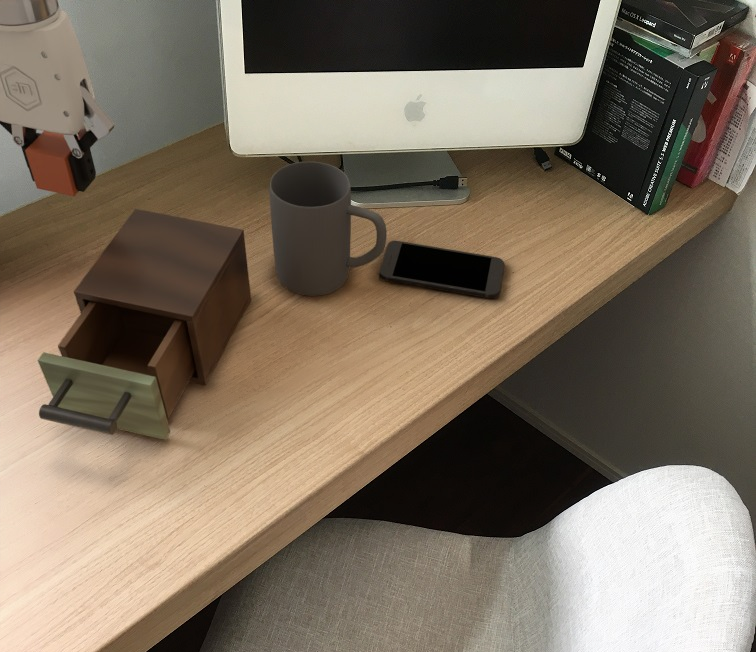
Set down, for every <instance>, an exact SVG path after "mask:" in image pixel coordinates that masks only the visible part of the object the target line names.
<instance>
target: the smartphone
mask: <svg viewBox="0 0 756 652" xmlns="http://www.w3.org/2000/svg"><path fill="white" fill-rule="evenodd" d="M505 267H506V264H505V261H504V260H503V259H502V258H500V257H498V256H492V255H485V254H480V253H476V252H475V253H474V252H469V251H468V252H467V251H461V250H455V249H449V248H444V247H438V246H432V245H425V244H419V243H414V242H407V241H403V240H402V241H401V240H391V241H389V242H388V243H387V245H386V247H385V251H384V254H383V257H382V260H381V264H380V267H379V270H378V276H379V277H378V278H380V279H381V280H382V281H386V282H390V283H391V282H392V283H397V284H405V285H408V286H409V285H410V286H416V287H422V288H426V289H434V290H439V291H445V292H451V293H458V294H462V295H468V296H475V297H480V298H481V297H482V298H486V299H487V298H488V299H495V298H497V297H499V295H500V294H501V291H502V285H503V279H504V273H505V269H506V268H505Z"/></svg>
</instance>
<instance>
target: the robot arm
mask: <svg viewBox="0 0 756 652" xmlns="http://www.w3.org/2000/svg"><path fill="white" fill-rule="evenodd" d="M93 87H94V86H93V84H92V80H91V76H90V72H89V70H88V66H87V63H86V60H85V57H84V53H83V50H82V48H81V45H80V42H79V40H78V37H77V34H76V32H75V29H74V27H73V24H72V23H71V20H70V18H69V15H68V13H67V12H66V11H65V10H62V9H61V8H60V4H59V0H0V126H1V127H3V128H4V129H5V130H6V131H7V132H8V133H9V134H10V135H11V136H12V141H13V142H14V144H15V145H16V146H18V147H21V150H22V155H23V157H24V160H25V163H26V166H27V168H28V170H29V174H30V177H31V180H32V182H34V183H35V181H34V177H33V174H32V171H31V168H30V165H29V161H28V158H27V155H26V152H25V150H26V149H27V148H28V147H29V146H30V145H31V144H32V143H33V142H34V141H35V140H36V139H37V138H38V137H39V135H40V134H41V133H42V132H43V131H47V132H52V133H57V134H63V136H64V138H65V140H66V142H67V144H68V146H69V148H70V151H71V153H72V154H71V156H70V157H69V163H70V167H71V170H72V174H73V178H74V181H75V185H76V189H77V190H78V191H79V192H80V193H84V192H85V191H87V189H88V188H89V187H90V185H91V184H92V183H93V182H94V181H95V179H96V176H97V171H96V167H95V166H96V165H95V163H94V159H93V155H92V151H91V148H92V147H93V146H94V144H95V143H97V142H98V141H101V140H102V139H103V138H105V137H106V136H108V135H109V134H110V133H111V132H112V131H113V129H114V128H115V124H114V122H113V120H112V119H111V118H110V117H109V115H108V114H107V113H106V112H105V111H104V109H103V108H102V106H101V105H100V104H99V103H98V102H97V101H96V96H95V93H94V88H93ZM85 117H86V118H87V119H88V120H89V122H90V123H91V124H92V125H91V126H90V127H88V124H87V122H86V120H85ZM37 131H42V132H41V133H40V132H37ZM77 136H79V138H80V140H79V139H78V137H77Z"/></svg>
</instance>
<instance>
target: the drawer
mask: <svg viewBox="0 0 756 652" xmlns="http://www.w3.org/2000/svg"><path fill="white" fill-rule="evenodd" d="M57 347H58V350H59V353H60V355H59V354H54V353H50V352H46V351H45V352H44V351H43V352H42V354H41V355H40V356H39V358H37V363H38V365H39V368H40V370H41V372H42V374H43V377H44V379H45V381H46V384H47V387H48V389H49V391H50V394H51V396H52V398H51V399H50V401H49V402H48V404H46V403H44V404H42V405H41V406H40V407H39V410H38V416H39V418H40V419H41V420H44V421H47V422H48V421H49V422H53V423H58V424H61V425H66V426H70V427H75V428H79V429H84V430H88V431H92V432H97V433H101V434H105V435H109V436H113V435H114V434H115V433H116V432H117V430H120V431H125V432H130V433H134V434H138V435H143V436H148V437H151V438H155V439H159V440H165V441H166V440H167V438H168V436H169V435H170V432H171V429H170V424H169V422H168V419H169V418H170V417H171V415H172V413H173V411H174V410H175V408H176V406H177V404H178V402H179V401H180V398H181V397H182V395H183V393H184V392H185V390H186V388H187V386H188V384H189V381H190V379H191V377H192V375H193V373H194V371H195V370H196V365H195V361H194V356H193V351H192V346H191V341H190V336H189V331H188V326H187V321H185V320H180V319H176V318H171V317H166V316H161V315H157V314H152V313H147V312H142V311H138V310H133V309H128V308H123V307H119V306H114V305H109V304H105V303H100V302H95V301H90V302H89V303H88V304H87V306H86V307H85V308H84V310H83V311H82V313H81V312H80V314H79V315H78V317H77V318H76V319H75V320H74V322H73V324H72V326H71V327H70V328H69V329H68V330H67V332H66V333H65V334H64V336H63V337H62V339H61V341H60V342H59V343H58V345H57Z"/></svg>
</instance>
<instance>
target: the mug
mask: <svg viewBox="0 0 756 652" xmlns="http://www.w3.org/2000/svg"><path fill="white" fill-rule="evenodd" d="M269 207H270V223H271V224H270V225H271V236H272V249H273V259H274V268H275V274H276V277H277V279H278V281H279V282H280V284H281V285H282V286H283V287H284V288H285V289H287V290H289V291H290V292H292V293H295V294H298V295H303V296H307V297H308V296H309V297H310V296H311V297H317V296H323V295H328V294H331V293H333V292H336V291H338V289H340V288H341V287H342V286H344V285H345V284H346V282H347V279H348V277H349V273H350V268H359V267H364V266H366V265H368V264H370V263H371V262H374V261H375V260H377V259H378V258H379V257H380V256H382V255H383V252H385V251H384V250H385V249H386V246H387V245H386V244H387V232H388V231H387V226H386V222H385V220H384V218H383V217H382V216H381V214H379V213H378V212H376V211H374V210H371V209H368V208H366V207H361V206H357V205H353V204H352V189H351V182H350V179H349V177H348V176H347V174H346V173H345V172H343V170H341V169H339V168H338V167H336V166H334V165H332V164H329V163H325V162H319V161H297V162H294V163H290V164H287V165H284V166H282V167H281V168H279V169H278V170H277V171H275V172H274V174H272V176H271V178H270V183H269ZM352 216H354V217H358V218H362V219H365V220H368V221H371V222H372V223H373V225H374V228H375V230H376V240H375V245H374V247H372V248H371V249H370V250H368V251H367V252H366V253H364V254H361V255H360V256H353V257H352V256H351V238H352V237H351V236H352V233H351V232H352Z"/></svg>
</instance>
